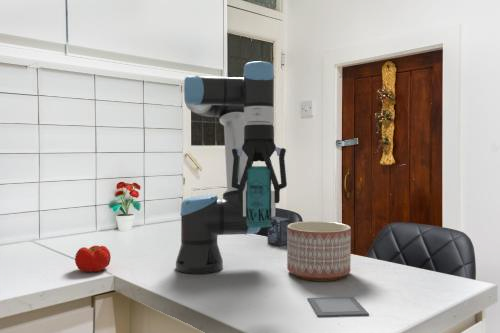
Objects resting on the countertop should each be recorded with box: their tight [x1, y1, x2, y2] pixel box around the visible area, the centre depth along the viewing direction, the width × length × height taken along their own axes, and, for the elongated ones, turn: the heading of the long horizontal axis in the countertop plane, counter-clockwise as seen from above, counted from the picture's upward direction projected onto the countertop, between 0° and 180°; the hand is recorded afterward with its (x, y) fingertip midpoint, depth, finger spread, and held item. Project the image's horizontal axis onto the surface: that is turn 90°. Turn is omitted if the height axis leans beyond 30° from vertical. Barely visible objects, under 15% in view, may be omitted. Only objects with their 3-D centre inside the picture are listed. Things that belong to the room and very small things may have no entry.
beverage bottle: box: [246, 153, 272, 229], centre depth 113 cm, size 6×7×20 cm
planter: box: [286, 220, 352, 282], centre depth 137 cm, size 19×19×15 cm
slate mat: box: [306, 296, 370, 318], centre depth 109 cm, size 12×12×1 cm
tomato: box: [74, 245, 112, 273], centre depth 142 cm, size 11×11×8 cm
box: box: [267, 216, 291, 247], centre depth 181 cm, size 8×6×11 cm
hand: (259, 215), depth 113 cm, fingers closed on beverage bottle, 6 cm apart
